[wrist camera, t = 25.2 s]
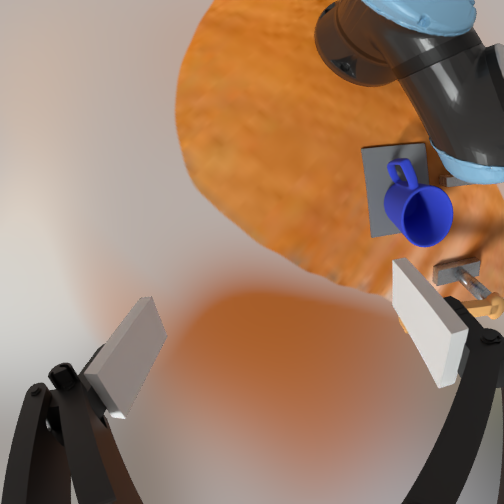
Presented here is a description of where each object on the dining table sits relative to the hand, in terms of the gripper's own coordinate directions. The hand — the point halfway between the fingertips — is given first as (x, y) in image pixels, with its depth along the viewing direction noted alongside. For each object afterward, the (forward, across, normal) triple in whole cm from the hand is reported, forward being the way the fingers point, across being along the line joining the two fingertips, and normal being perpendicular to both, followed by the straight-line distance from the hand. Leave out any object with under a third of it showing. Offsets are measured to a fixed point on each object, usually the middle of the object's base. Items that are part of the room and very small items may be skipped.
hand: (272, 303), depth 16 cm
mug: (+31, +19, -2) cm, 37 cm away
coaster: (+32, +20, -2) cm, 37 cm away
